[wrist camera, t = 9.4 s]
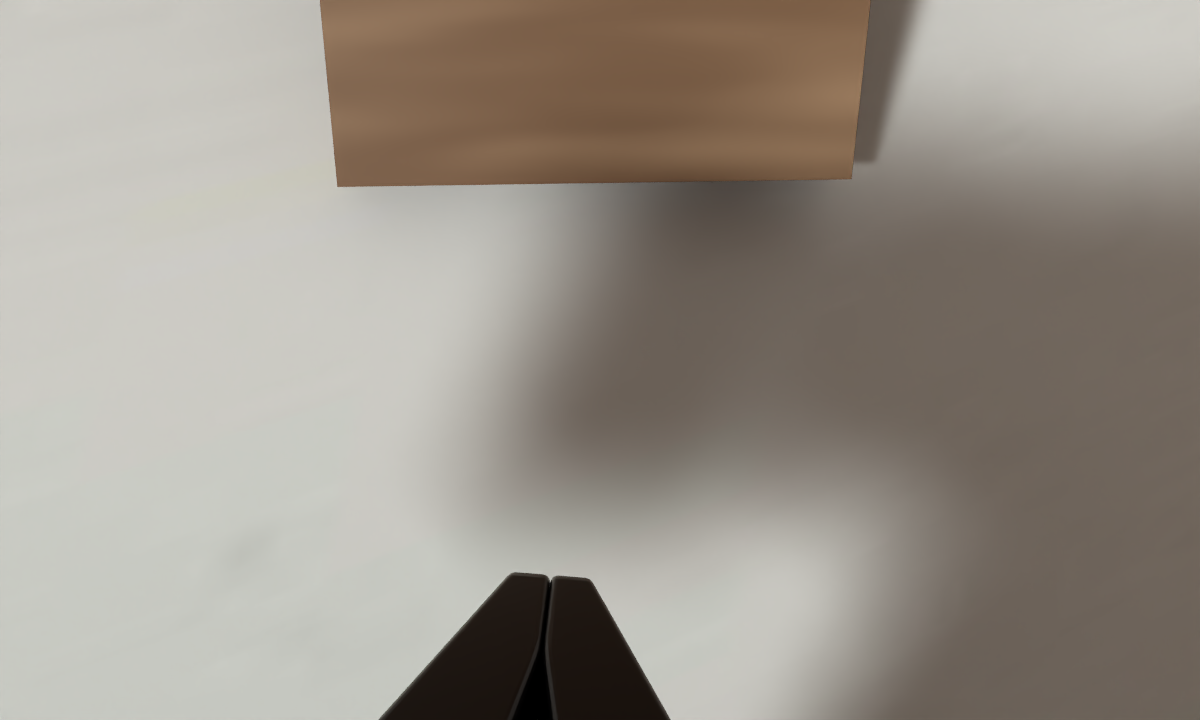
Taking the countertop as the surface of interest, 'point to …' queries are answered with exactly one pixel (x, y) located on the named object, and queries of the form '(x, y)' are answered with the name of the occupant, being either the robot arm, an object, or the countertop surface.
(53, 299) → the countertop surface
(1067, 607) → the countertop surface
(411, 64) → the domino
